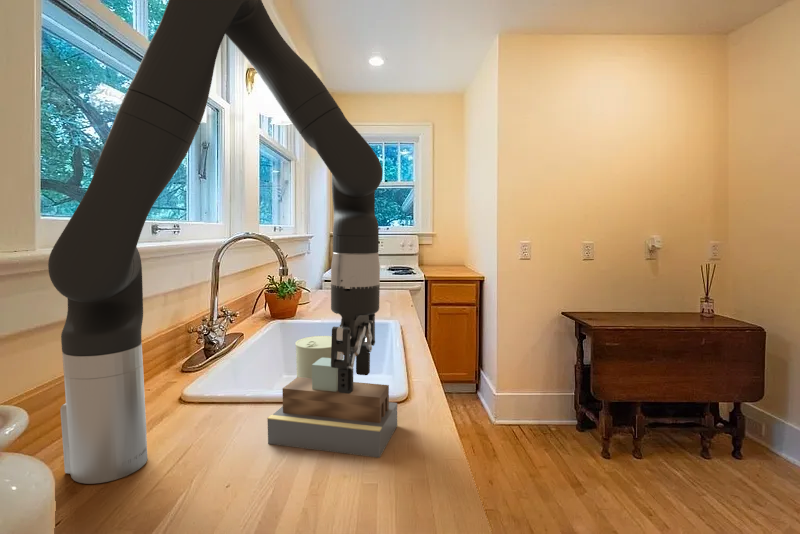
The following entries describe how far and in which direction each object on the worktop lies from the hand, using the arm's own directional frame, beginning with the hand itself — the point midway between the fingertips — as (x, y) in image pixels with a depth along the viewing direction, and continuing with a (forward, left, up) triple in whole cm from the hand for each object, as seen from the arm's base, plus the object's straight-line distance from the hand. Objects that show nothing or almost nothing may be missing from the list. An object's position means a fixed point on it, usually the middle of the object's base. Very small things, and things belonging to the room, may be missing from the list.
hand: (354, 382), depth 75 cm
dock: (-3, 0, -9) cm, 10 cm away
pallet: (-3, 0, -5) cm, 6 cm away
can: (-11, +13, -9) cm, 20 cm away
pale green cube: (-4, 0, -1) cm, 5 cm away
